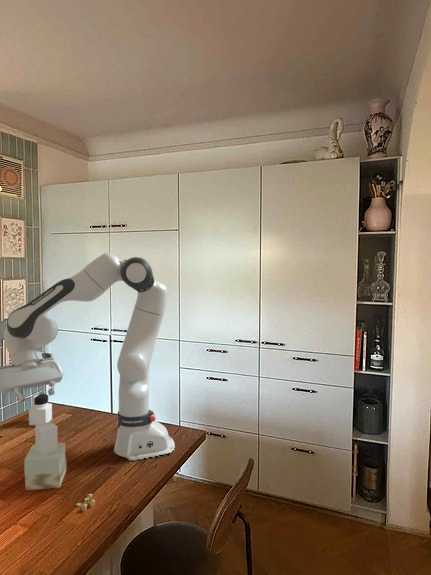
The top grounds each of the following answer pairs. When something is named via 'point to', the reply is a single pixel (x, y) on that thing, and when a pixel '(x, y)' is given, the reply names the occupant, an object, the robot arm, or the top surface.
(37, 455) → the sage block
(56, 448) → the grey block
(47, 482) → the birch block
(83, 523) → the top surface
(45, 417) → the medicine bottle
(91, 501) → the beige lumpy cluster
